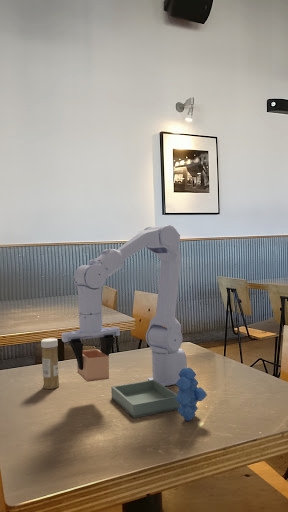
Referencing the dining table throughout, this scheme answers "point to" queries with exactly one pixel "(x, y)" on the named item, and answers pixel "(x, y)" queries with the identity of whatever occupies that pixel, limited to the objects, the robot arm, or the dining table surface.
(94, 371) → the small crate
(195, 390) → the grapes
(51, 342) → the sprinkles bottle
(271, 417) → the dining table surface
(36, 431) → the dining table surface
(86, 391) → the dining table surface
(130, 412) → the base crate
